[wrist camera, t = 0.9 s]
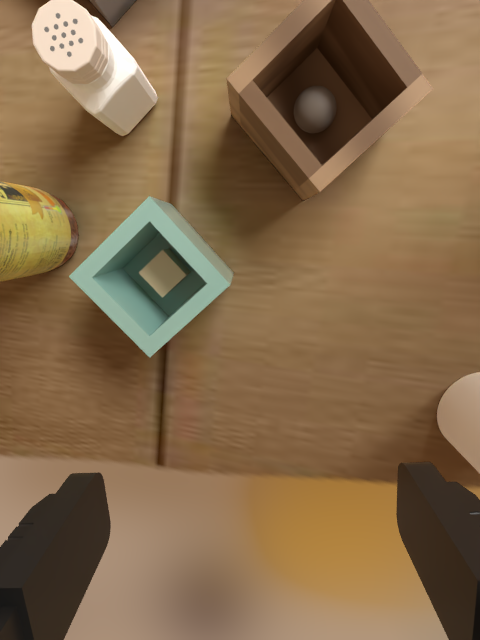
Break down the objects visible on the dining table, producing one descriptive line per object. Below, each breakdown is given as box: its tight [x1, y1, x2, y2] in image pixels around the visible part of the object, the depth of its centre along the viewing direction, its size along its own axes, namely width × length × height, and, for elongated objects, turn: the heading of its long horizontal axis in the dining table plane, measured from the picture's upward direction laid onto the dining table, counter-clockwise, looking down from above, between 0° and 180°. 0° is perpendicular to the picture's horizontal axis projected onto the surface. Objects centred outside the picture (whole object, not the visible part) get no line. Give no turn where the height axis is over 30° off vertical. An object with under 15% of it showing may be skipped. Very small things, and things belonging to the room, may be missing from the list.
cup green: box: [69, 196, 234, 358], centre depth 27 cm, size 7×7×7 cm
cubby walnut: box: [227, 0, 433, 201], centre depth 25 cm, size 8×8×7 cm
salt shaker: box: [32, 0, 158, 136], centre depth 24 cm, size 4×4×10 cm
